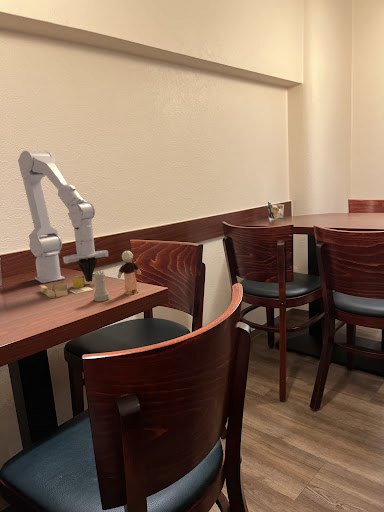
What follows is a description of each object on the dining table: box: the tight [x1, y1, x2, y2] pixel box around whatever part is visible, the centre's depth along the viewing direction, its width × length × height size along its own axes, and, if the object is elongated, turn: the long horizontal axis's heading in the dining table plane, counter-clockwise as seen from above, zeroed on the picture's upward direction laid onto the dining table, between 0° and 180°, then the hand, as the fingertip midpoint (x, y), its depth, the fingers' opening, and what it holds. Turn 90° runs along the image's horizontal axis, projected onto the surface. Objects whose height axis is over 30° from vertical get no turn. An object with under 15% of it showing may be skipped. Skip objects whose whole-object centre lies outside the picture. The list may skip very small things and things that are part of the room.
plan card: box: [69, 286, 94, 295], centre depth 125 cm, size 5×6×1 cm
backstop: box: [39, 284, 56, 299], centre depth 123 cm, size 12×1×2 cm, turn 36°
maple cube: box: [50, 281, 69, 298], centre depth 121 cm, size 4×4×4 cm
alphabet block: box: [72, 275, 86, 289], centre depth 131 cm, size 3×3×3 cm
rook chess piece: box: [93, 270, 111, 303], centre depth 113 cm, size 4×4×8 cm
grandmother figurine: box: [117, 250, 142, 296], centre depth 118 cm, size 8×4×13 cm, turn 142°
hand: (89, 281), depth 133 cm, fingers closed
